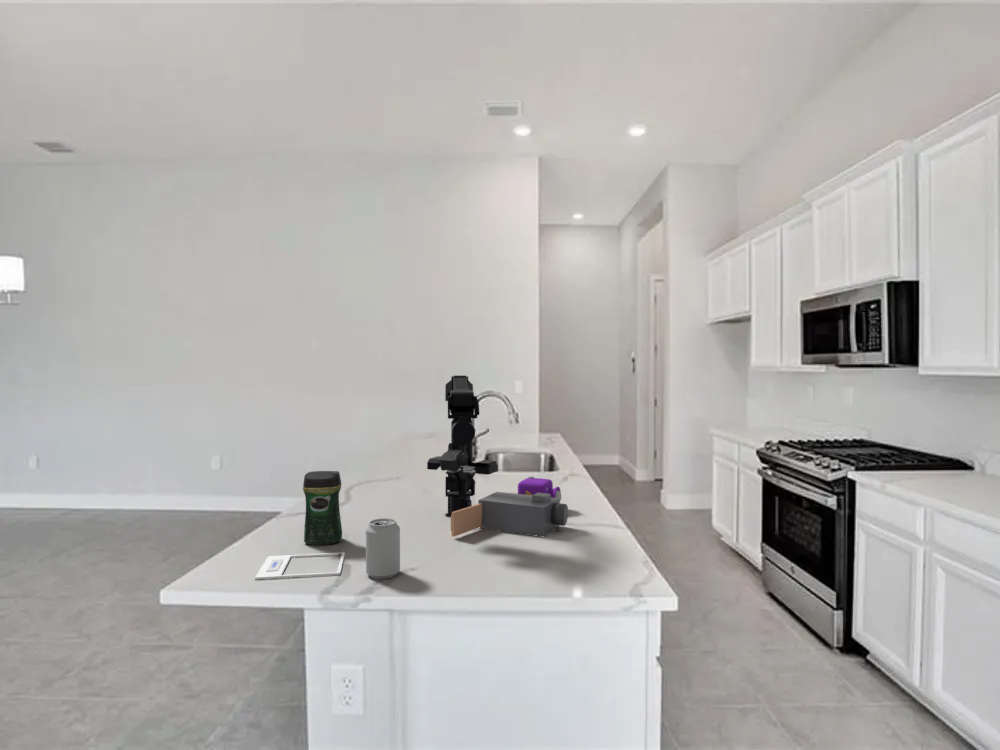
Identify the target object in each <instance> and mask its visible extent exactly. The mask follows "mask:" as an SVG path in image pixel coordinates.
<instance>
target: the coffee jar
mask: <svg viewBox="0 0 1000 750" xmlns="http://www.w3.org/2000/svg"><path fill="white" fill-rule="evenodd" d="M302 485H303V486H302V490H303V491H302V492H303V493H304V495H305V517H304V528H303V529H304V530H303V541H304V543H305V544H306V545H314V546H315V545H317V546H319V545H321V546H322V545H330V544H335V543H337V542H340V541H341V540H342V538H343V527H342V519H341V512H340V492H341V489H342V479H341V474H340V471H338V470H318V471H317V470H315V471H309V472H307V473H306V474H304V479H303V484H302Z"/></svg>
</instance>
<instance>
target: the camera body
mask: <svg viewBox="0 0 1000 750" xmlns="http://www.w3.org/2000/svg"><path fill="white" fill-rule="evenodd" d="M479 503H481V504H482V527H480V528H479V529H482V528H485V529H484V530H489V529H493V530H492V531H496V530H500V531H499V532H504V531H507V532H506V533H511V532H514V533H513V534H518V533H522V534H521V535H525V534H529V535H528V536H533V535H537V536H536V537H540V536H545V537H546V536H547V534H548V533H549V534H550V533H552V532H553V531H554V529H555V528H556V529H557V528H559V527H560V526H562V527H564V526H566V525H567V523H568V519H569V507H568V504H567V503H561V501H560V498H551V494H546V493H536V494H534V495H523V494H518V493H513V492H502V491H495V492H493V493H491V494H489V495H487V496H484V497H482V498H480V499H478V503H477V504H479ZM558 526H559V527H558ZM556 529H555V530H556ZM552 530H553V531H552ZM551 531H552V532H551ZM549 534H548V535H549Z"/></svg>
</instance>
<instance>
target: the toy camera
mask: <svg viewBox="0 0 1000 750" xmlns="http://www.w3.org/2000/svg"><path fill="white" fill-rule="evenodd" d="M561 492H562V491H561V488H560V486H555V487H554V488H553V481H552V480H551V479H549V478H541V477H539V478H537V477H534V475H533V476H532V475H528V476H527V478H525V479H523V480H521V481H519V482H518V483H517V494H523V495H534V494H536V493H546V494H551V498H560V502H561V500H562V493H561Z"/></svg>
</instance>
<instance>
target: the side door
mask: <svg viewBox="0 0 1000 750" xmlns="http://www.w3.org/2000/svg"><path fill="white" fill-rule="evenodd" d="M479 527H482V504H481V503H479V504H478V503H477V504H474V505H472V506H470V507H467V508H464V509H461V510H457V511H454V512H452V516H450V531H451V537H457V536H460V535H462V534H466V533H468V532H470V531H474V530H476V529H480V528H479Z"/></svg>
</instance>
